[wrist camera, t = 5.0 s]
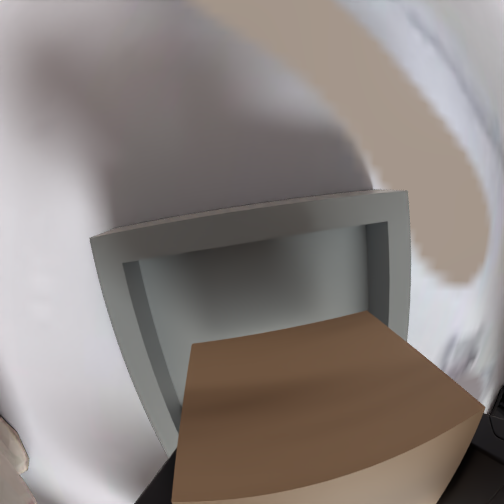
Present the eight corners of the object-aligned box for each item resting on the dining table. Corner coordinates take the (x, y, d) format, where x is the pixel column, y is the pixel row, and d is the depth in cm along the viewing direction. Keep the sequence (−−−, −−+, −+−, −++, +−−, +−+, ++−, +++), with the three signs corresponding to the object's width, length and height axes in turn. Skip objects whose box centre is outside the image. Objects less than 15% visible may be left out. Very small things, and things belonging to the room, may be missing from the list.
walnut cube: (360, 429, 9) (420, 526, 4) (225, 458, 9) (236, 577, 4) (366, 310, 8) (485, 407, 3) (191, 344, 8) (171, 502, 3)
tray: (374, 189, 12) (407, 190, 9) (373, 393, 14) (394, 421, 12) (115, 228, 11) (89, 238, 9) (177, 431, 14) (173, 466, 11)
